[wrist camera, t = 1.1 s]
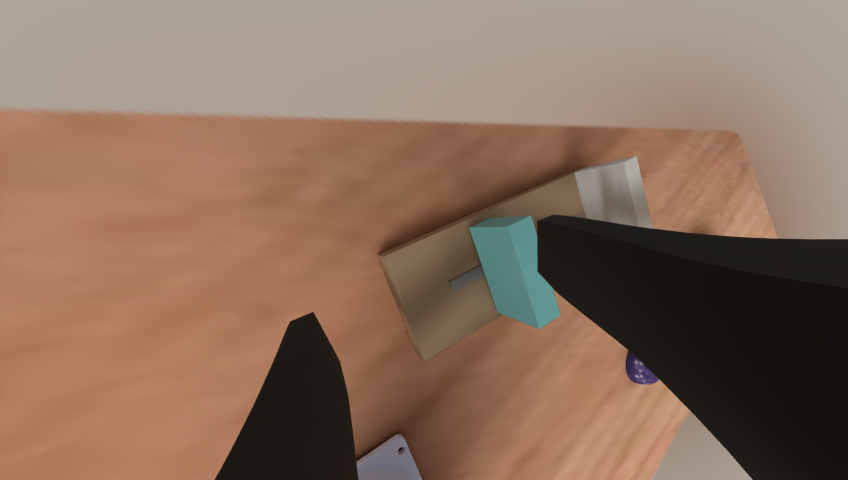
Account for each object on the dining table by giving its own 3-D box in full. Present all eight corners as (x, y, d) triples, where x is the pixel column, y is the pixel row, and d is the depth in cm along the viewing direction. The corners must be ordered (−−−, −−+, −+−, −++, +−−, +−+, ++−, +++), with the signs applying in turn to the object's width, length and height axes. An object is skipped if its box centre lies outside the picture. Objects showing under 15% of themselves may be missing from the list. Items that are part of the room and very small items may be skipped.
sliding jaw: (516, 301, 22) (560, 314, 18) (497, 312, 21) (539, 329, 18) (489, 218, 21) (531, 215, 17) (469, 227, 20) (507, 226, 17)
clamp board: (593, 248, 28) (660, 251, 23) (416, 353, 21) (454, 391, 16) (573, 169, 26) (638, 154, 21) (377, 254, 20) (405, 262, 15)
